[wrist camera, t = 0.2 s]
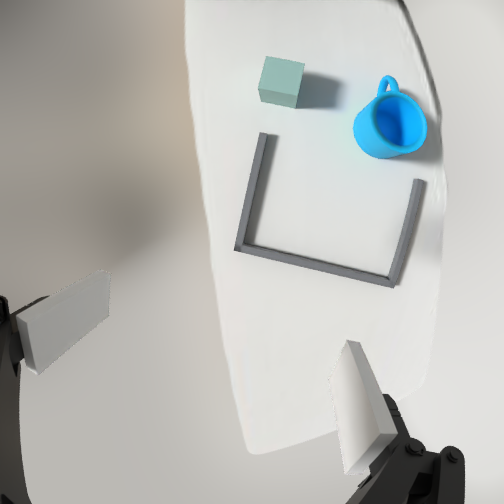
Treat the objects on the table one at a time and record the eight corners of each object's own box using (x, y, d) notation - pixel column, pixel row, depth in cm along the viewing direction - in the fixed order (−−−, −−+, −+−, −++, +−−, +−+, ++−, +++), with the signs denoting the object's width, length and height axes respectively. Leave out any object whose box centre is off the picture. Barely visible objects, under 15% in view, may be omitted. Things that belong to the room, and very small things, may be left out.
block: (268, 73, 35) (266, 56, 29) (301, 79, 35) (304, 63, 29) (261, 101, 36) (258, 88, 31) (295, 108, 36) (297, 95, 30)
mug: (402, 162, 36) (427, 158, 28) (352, 154, 37) (369, 146, 29) (401, 91, 33) (423, 74, 25) (352, 80, 34) (367, 59, 26)
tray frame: (260, 134, 37) (259, 132, 36) (419, 180, 36) (423, 180, 35) (235, 248, 41) (233, 250, 40) (390, 285, 40) (393, 288, 39)
